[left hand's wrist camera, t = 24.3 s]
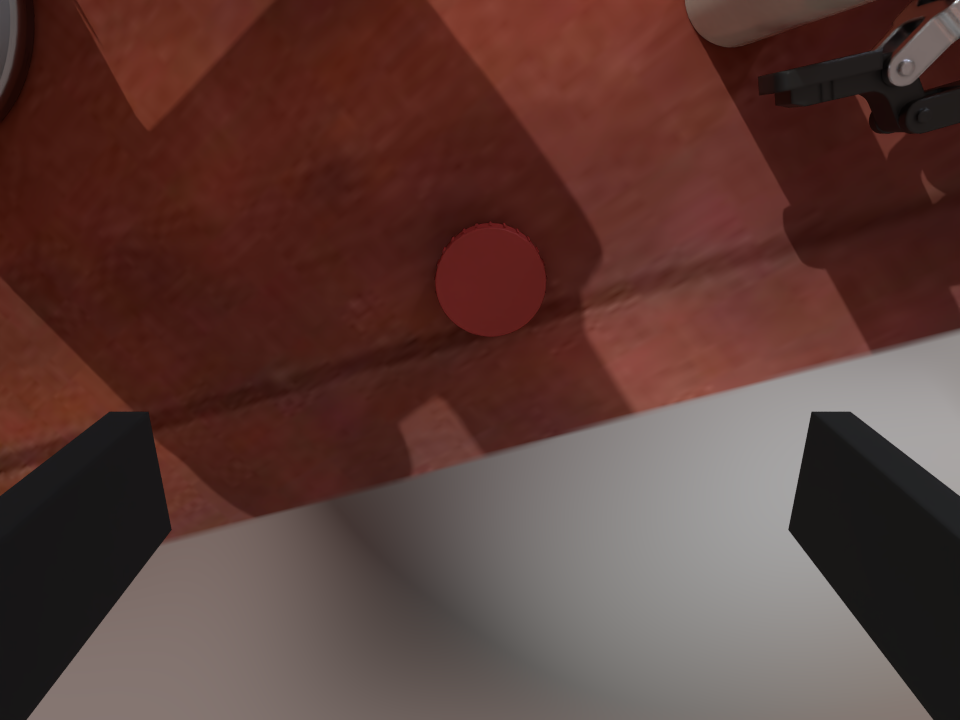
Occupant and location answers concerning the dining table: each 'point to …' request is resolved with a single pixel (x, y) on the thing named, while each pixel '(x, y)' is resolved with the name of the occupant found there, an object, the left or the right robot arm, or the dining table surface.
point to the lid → (490, 279)
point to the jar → (758, 17)
